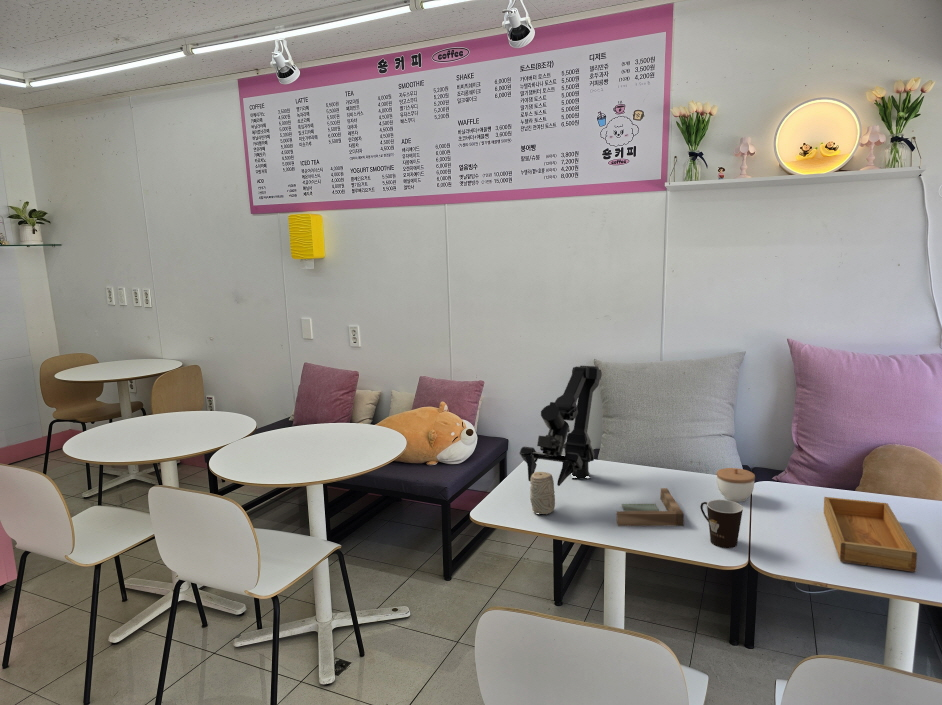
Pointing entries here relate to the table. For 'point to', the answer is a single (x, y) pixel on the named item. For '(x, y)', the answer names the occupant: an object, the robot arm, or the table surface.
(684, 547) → the table surface
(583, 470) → the robot arm
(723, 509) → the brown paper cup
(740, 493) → the lidded jar
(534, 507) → the carving
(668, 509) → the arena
